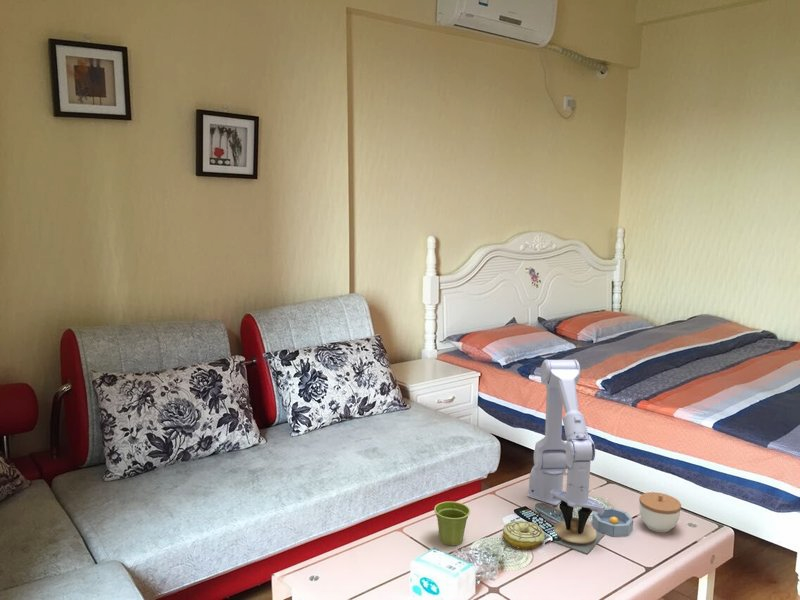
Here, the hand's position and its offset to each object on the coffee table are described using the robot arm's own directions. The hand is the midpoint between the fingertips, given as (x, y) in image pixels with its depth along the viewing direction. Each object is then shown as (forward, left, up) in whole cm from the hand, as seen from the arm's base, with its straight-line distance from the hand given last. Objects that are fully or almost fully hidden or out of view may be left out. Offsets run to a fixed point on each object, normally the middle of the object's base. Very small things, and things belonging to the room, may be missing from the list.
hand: (574, 530), depth 175 cm
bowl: (+6, +12, -2) cm, 14 cm away
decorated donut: (-10, -10, -2) cm, 14 cm away
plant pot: (-25, -22, -2) cm, 33 cm away
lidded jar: (+16, +20, -2) cm, 26 cm away
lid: (0, 0, -1) cm, 1 cm away
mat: (0, 0, -2) cm, 2 cm away
